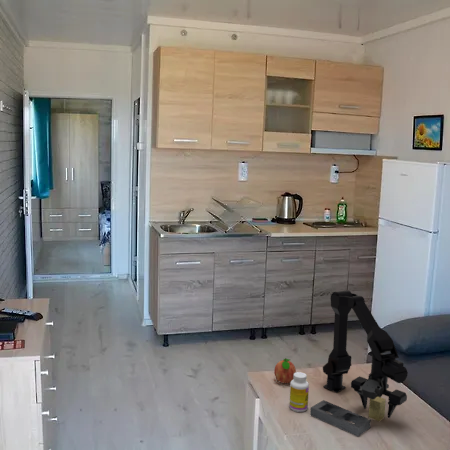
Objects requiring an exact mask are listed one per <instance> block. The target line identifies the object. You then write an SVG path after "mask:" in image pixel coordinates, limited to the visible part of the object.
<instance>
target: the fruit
mask: <svg viewBox="0 0 450 450" xmlns="http://www.w3.org/2000/svg"><path fill="white" fill-rule="evenodd" d="M273 370H274V372H273V373H274V376H275V379H276V381H278V382H279V383H282V384H290V383H291V381H292V380H293V379H294V378H293V376H294V373H296V372H297V369H296V367H295V365H294V363H293V362H292V361H291V359H289V358H286V357H285V358H283V360H280V361H278V362H277V363H276V365H275V366H274V369H273Z"/></svg>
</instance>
